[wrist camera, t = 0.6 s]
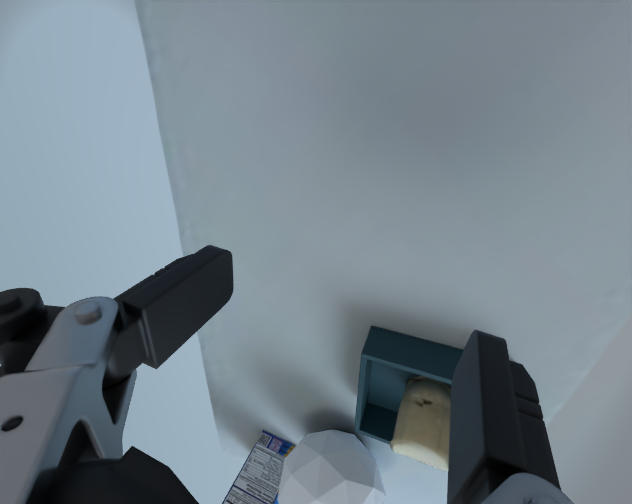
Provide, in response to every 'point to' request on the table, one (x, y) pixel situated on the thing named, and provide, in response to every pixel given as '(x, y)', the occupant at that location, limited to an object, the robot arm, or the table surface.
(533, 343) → the table surface
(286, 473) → the geodesic sphere
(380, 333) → the box
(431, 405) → the cream rounded oblong block
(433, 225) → the table surface
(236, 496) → the beverage box
